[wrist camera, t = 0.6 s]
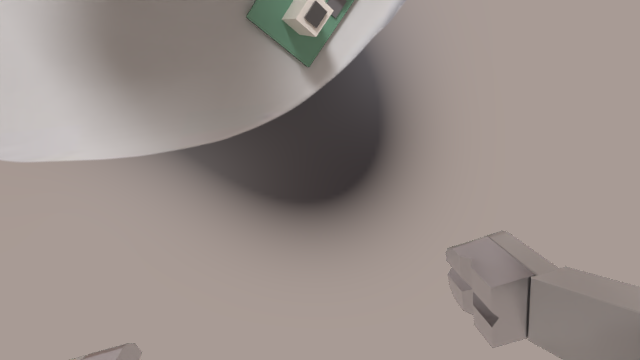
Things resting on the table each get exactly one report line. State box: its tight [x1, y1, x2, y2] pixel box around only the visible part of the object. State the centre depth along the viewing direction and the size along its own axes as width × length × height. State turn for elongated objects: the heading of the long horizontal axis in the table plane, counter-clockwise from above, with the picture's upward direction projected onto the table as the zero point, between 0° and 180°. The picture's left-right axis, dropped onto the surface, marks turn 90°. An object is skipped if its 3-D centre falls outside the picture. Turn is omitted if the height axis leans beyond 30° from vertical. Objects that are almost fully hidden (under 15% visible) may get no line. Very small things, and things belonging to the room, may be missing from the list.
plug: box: [282, 0, 334, 37], centre depth 43 cm, size 5×4×9 cm
